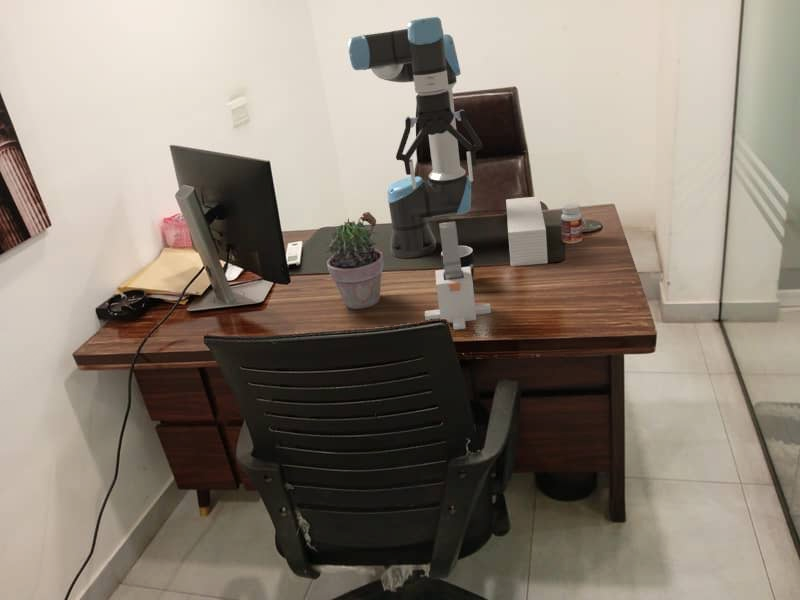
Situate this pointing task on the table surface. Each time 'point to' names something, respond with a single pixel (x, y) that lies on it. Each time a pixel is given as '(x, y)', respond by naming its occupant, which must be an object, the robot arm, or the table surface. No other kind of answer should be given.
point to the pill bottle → (571, 223)
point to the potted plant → (356, 263)
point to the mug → (465, 258)
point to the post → (450, 250)
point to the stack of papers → (526, 231)
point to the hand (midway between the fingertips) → (442, 183)
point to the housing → (456, 300)
